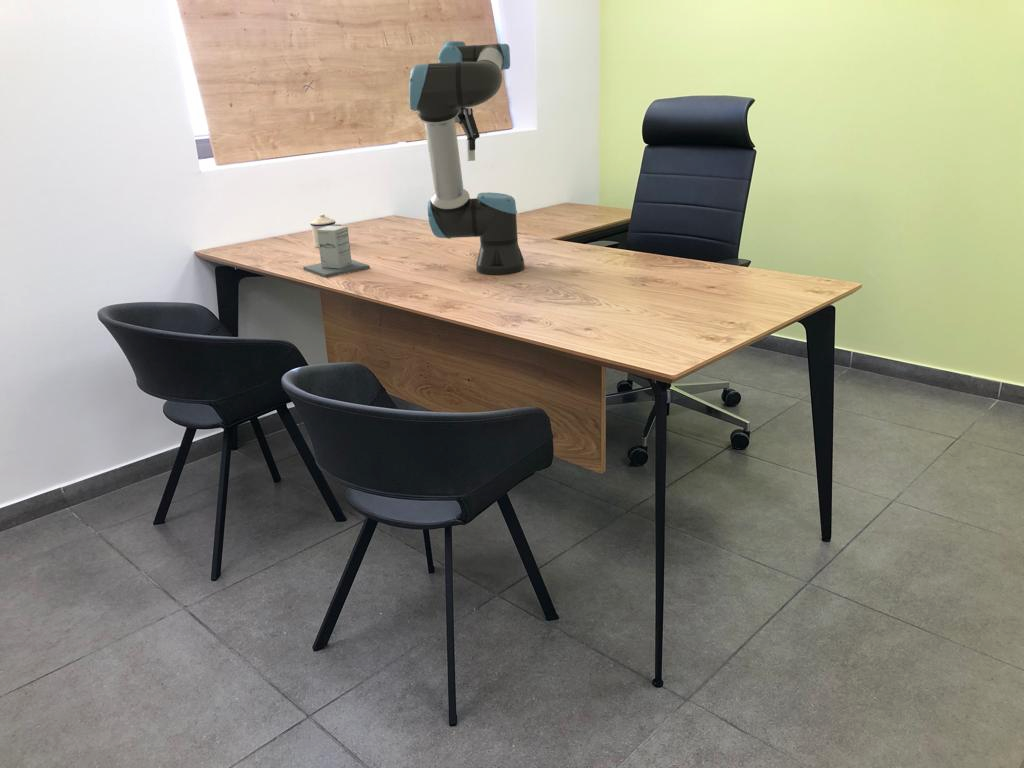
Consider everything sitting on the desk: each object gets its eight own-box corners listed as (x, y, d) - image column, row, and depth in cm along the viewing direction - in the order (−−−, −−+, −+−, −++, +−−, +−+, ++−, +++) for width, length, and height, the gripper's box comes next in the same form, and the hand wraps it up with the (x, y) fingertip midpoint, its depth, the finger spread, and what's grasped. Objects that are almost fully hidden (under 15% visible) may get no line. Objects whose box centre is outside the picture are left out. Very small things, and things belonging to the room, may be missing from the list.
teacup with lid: (318, 249, 296) (313, 217, 292) (310, 245, 304) (306, 214, 300) (349, 244, 302) (345, 213, 298) (340, 240, 309) (337, 210, 305)
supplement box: (321, 268, 264) (315, 229, 259) (334, 262, 270) (329, 225, 265) (339, 269, 261) (334, 230, 256) (352, 263, 267) (348, 225, 262)
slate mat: (369, 268, 264) (369, 265, 264) (324, 277, 255) (324, 274, 255) (347, 260, 276) (346, 258, 276) (303, 269, 267) (303, 266, 267)
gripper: (489, 91, 258) (490, 160, 265) (443, 93, 276) (445, 157, 283) (470, 92, 253) (472, 162, 260) (424, 93, 271) (428, 159, 278)
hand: (458, 160), depth 272 cm, fingers open, 13 cm apart
